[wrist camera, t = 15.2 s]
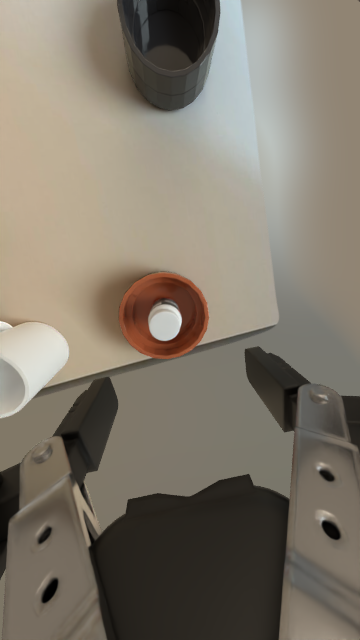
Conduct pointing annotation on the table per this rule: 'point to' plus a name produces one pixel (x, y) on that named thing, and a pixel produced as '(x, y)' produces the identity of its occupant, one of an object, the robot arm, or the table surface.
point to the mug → (28, 362)
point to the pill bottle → (164, 319)
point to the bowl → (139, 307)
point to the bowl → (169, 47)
